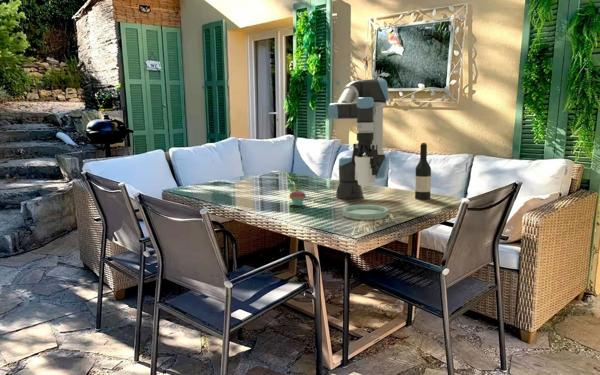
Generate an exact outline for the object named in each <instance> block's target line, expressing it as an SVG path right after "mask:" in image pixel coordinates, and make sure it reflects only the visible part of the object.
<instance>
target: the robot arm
mask: <svg viewBox="0 0 600 375" xmlns="http://www.w3.org/2000/svg"><path fill="white" fill-rule="evenodd" d="M340 91H341V92H340V96H339V98H338V100H337V102H333V103H332V102H331V103H329V104H328V107H327V108H328V109H327V110H328V111H327V113H328V117H329V119H331V120H344V119H345V120H346V119H348V120H350V119H351V120H352V119H353V120H354V119H356V132H357V133H356V141H357V143H353V144H352V148H353V149H352V155H345V156H341V157H340V158H339V159H338V186H337V189H336V192H335V197H336V198H337V199H343V200H356V199H361V198H363V197H364V192H363V188H362V185H358V180H357V172H356V164H355V156H358V157H362V156H363V155H367V156H368V157H373V158H370V165H371V167H370V183H372V184H374V183H376V180H377V179H378V180H380V179H381V180H382V179H384V178H385V177H386V174H387V169H388V157H386V153H385V152H384V151H383V147H384V146H383V143H384V142H383V140H384V138H383V135H384V133H383V132H384V131H383V129H384V107H385V106H386V105H387V102H388V101H389V89H388V82H387V80H386V79H384V78H383V79H382V78H373V79H357V80H354V81H351V82H349V83H348V84H346V85H344V87H343V88H342V90H340Z"/></svg>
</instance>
